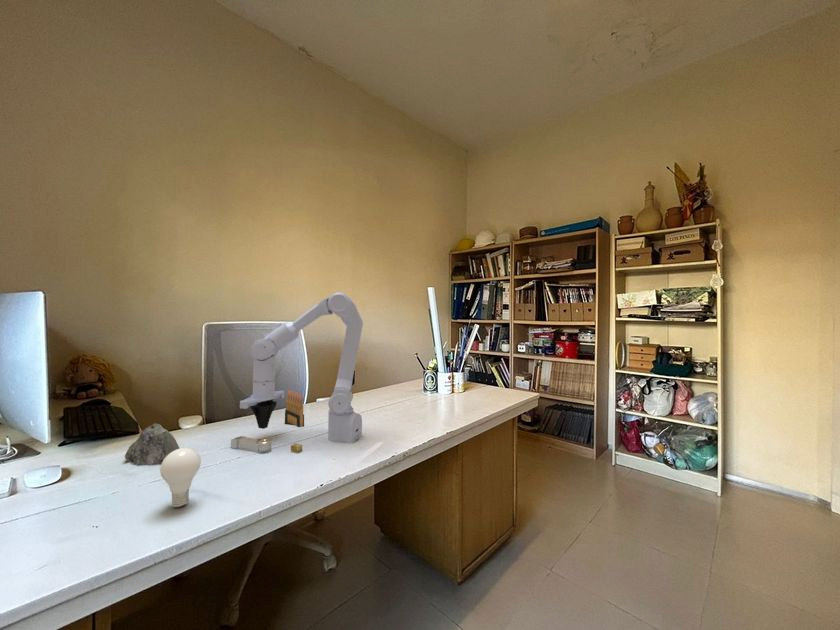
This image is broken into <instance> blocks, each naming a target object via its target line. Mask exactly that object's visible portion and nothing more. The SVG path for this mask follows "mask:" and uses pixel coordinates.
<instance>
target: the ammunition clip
mask: <svg viewBox="0 0 840 630" xmlns="http://www.w3.org/2000/svg"><path fill="white" fill-rule="evenodd" d="M303 401H304V400H303V394H302V393H300V392H297V391H294V390H292V389H288V390H287V394H286V402H285V409H284V425H288V426H296V427H297V428H302V427H303V428H304V427H305V414H304V403H303Z"/></svg>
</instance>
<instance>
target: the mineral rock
mask: <svg viewBox="0 0 840 630" xmlns="http://www.w3.org/2000/svg"><path fill="white" fill-rule="evenodd" d="M180 448H181V447H180V446H179V444H178V442H177V439H176V438H175V437H174V435H173V434H172V433H171V432H169V430H167V429H166V428H164V427H163V426H162V425H161V424H159V423H153V424H152V425H149V426H147V427H146V428H145V429H142V431H141V433H139V436H138V437H137V439H136V440H135V441H134V442H132V444H131V445H130V446H129V447H128V449H127V451H126V453H125V454H124V460H126V461H127V462H129V463H132V464H133V465H137V466H152V465H153V466H154V465H155V466H156V465H161V464H162V462H163V460H164V458H165V457H166V456H167V455H168V454H169V453H171V452H172V451H174V450H176V449H180Z"/></svg>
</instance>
